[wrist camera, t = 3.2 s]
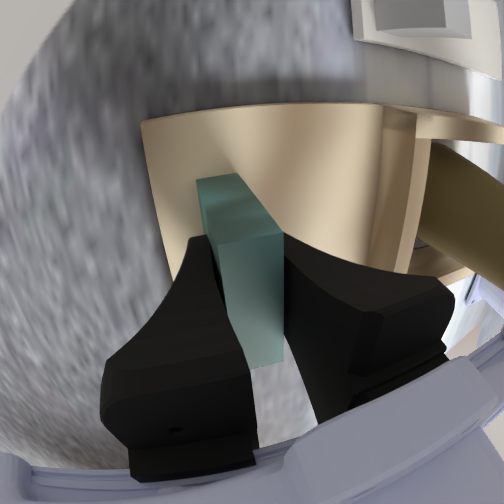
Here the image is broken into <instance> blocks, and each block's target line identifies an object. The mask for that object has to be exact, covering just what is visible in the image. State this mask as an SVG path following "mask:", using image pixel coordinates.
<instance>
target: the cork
mask: <svg viewBox="0 0 504 504" xmlns="http://www.w3.org/2000/svg"><path fill="white" fill-rule="evenodd" d="M416 238H417V239H419V240H421V241H423V242H425V243H426V244H428V245H430V246H432V247H433V248H435V249H437V250H439V251H440V252H442V253H444V254H445V255H447V256H449V257H450V258H452V259H454V260H456V261H457V262H459V263H460V264H462V265H464V266H465V267H467V268H469V269H470V270H472V271H473V272H475V273H477V274H478V275H480V276H481V277H483V278H484V279H486V280H488V281H489V282H491V283H492V284H494V285H495V286H497V287H498V288H500V289H501V290H503V291H504V185H503V184H502V183H500V182H499V181H498V180H496V179H495V178H494V177H492V176H491V175H489V174H488V173H487V172H485V171H484V170H482V169H481V168H479V167H478V166H477V165H475V164H474V163H472V162H471V161H469V160H467V159H466V158H464V157H463V156H461V155H460V154H458V153H456V152H455V151H453V150H452V149H450V148H448V147H447V146H445V145H442V144H439V143H431V148H430V157H429V165H428V172H427V179H426V186H425V192H424V198H423V204H422V209H421V214H420V220H419V224H418V229H417V234H416Z"/></svg>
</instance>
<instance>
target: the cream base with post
mask: <svg viewBox="0 0 504 504" xmlns="http://www.w3.org/2000/svg"><path fill="white" fill-rule="evenodd" d="M351 10H352V23H353V38H354V40H357V41H363V42H369V43H375V44H380V45H385V46H390V47H394V48H399V49H403V50H407V51H411V52H415V53H419V54H423V55H426V56H430V57H433V58H436V59H440V60H443V61H446V62H449V63H452V64H455V65H458V66H461V67H464V68H466V69H469V70H472V71H474V72H477V73H479V74H482V75H484V76H487V77H489V78H491V79H495V80H499V81H502V57H501V38H500V27H499V18H498V10H497V3H496V2H495V1H493V0H351Z"/></svg>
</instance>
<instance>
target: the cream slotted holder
mask: <svg viewBox="0 0 504 504" xmlns="http://www.w3.org/2000/svg"><path fill="white" fill-rule="evenodd" d="M140 127H141V133H142V139H143V145H144V151H145V157H146V162H147V168H148V173H149V178H150V184H151V189H152V193H153V198H154V203H155V208H156V212H157V217H158V221H159V226H160V230H161V234H162V239H163V243H164V247H165V251H166V255H167V259H168V263H169V267H170V271H171V275H172V278H173V282H174V280H175V278H176V275H177V273H178V271H179V269H180V266H181V264H182V261H183V258H184V255H185V252H186V248H187V243H188V240H189V238H190V237H194V236H199V235H204V234H207V236H208V239H209V241H210V246H211V252H212V258H213V264H214V270H215V276H216V282H217V287H218V290H219V293H220V296H221V299H222V302H223V304H224V307H225V310H226V312H227V315H228V317H229V320H230V322H231V325H232V327H233V329H234V331H235V334H236V336H237V338H238V340H239V342H240V344H241V346H242V348H243V351H244V354H245V357H246V360H247V363H248V366H249V369H250V370H251V369H255V368H259V367H263V366H266V365H270V364H274V363H278V362H281V361H283V340H284V232H285V233H287V234H289V235H290V236H292V237H294V238H296V239H298V240H300V241H302V242H304V243H306V244H308V245H310V246H312V247H314V248H316V249H319V250H321V251H323V252H325V253H328V254H330V255H333V256H336V257H339V258H341V259H344V260H347V261H350V262H353V263H357V264H360V265H364V266H368V267H372V268H376V269H380V270H385V271H391V272H397V273H403V274H412V275H423V276H434V277H436V278H437V279H438V280H440V281H441V282H442V283H443V284H444V285H445V286H448V285H450V284H452V283H455V282H457V281H459V280H461V279H464V278H466V277H468V276H470V275H472V274H475V272H473V271H472V270H470V269H469V268H467V267H465V266H464V265H462V264H460V263H459V262H457V261H456V260H454V259H452V258H450V257H449V256H447V255H445V254H444V253H442V252H440V251H439V250H437V249H435V248H433V247H432V246H427V247H423V248H420V249H416V250H413V247H414V243H415V238H416V234H417V229H418V224H419V220H420V214H421V209H422V204H423V198H424V192H425V186H426V179H427V172H428V165H429V157H430V148H431V139H448V140H463V141H475V142H485V143H494V144H503V145H504V127H503V126H501V125H498V124H495V123H492V122H490V121H487V120H484V119H481V118H478V117H474V116H470V115H465V114H460V113H454V112H448V111H441V110H434V109H427V108H419V107H410V106H400V105H389V104H375V103H355V102H292V103H271V104H257V105H245V106H234V107H225V108H216V109H209V110H201V111H194V112H188V113H181V114H176V115H170V116H164V117H159V118H154V119H149V120H144V121H141V123H140Z"/></svg>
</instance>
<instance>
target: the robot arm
mask: <svg viewBox="0 0 504 504" xmlns="http://www.w3.org/2000/svg"><path fill="white" fill-rule="evenodd" d="M481 299H484V300H486V301H487V302H488V303H489V304H490V305H491V306H492V307H493V308H494V309H495V310H496V311H497V312H498V313H499V314H500V315H501V316H502V317H503V318H504V291H503V290H501V289H500V288H498V287H497V286H495V285H494V284H492V283H491V282H489V281H488V280H486V279H484V278H483V277H481V276H480V275H478V274H477V276H476V278H475V281H474V283H473V286H472V288H471V291H470V293H469V295H468V298H467V300H466V302H465V305H466V306H467V307H469V306H471V305H473V304H474V303H476V302H478V301H480V300H481ZM454 307H455V297H454V294H453V293H452V292H451V291H450V290H449V289H448V288H447V287H446V286H445V285H444V284H443V283H442V282H441V281H440V280H438V279H437V278H436V277H434V276H423V275H412V274H403V273H397V272H391V271H385V270H380V269H376V268H372V267H368V266H364V265H360V264H357V263H353V262H350V261H347V260H344V259H341V258H339V257H336V256H333V255H330V254H328V253H325V252H323V251H321V250H319V249H316V248H314V247H312V246H310V245H308V244H306V243H304V242H302V241H300V240H298V239H296V238H294V237H292V236H290V235H289V234H287V233H285V232H284V336H285V338H286V340H287V342H288V344H289V346H290V349H291V351H292V354H293V356H294V359H295V361H296V364H297V366H298V369H299V371H300V374H301V377H302V379H303V382H304V385H305V387H306V390H307V393H308V396H309V399H310V402H311V404H312V407H313V410H314V413H315V416H316V419H317V422H318V425H317V426H316V427H314V428H313V429H311V430H310V431H308V432H307V433H305V434H304V435H302V436H300V437H297V438H294V439H291V440H287V441H284V442H281V443H277V444H274V445H270V446H267V447H263V448H259V441H258V434H257V420H256V413H255V405H254V397H253V389H252V381H251V373H250V369H249V366H248V363H247V360H246V357H245V354H244V351H243V348H242V346H241V344H240V342H239V340H238V338H237V336H236V334H235V331H234V329H233V327H232V325H231V322H230V320H229V317H228V315H227V312H226V310H225V307H224V304H223V302H222V299H221V296H220V293H219V290H218V287H217V282H216V276H215V270H214V264H213V258H212V252H211V246H210V241H209V239H208V236H207V234H204V235H199V236H194V237H190V238H189V240H188V243H187V248H186V252H185V255H184V258H183V261H182V264H181V266H180V269H179V271H178V273H177V275H176V278H175V280H174V282H173V284H172V286H171V288H170V290H169V291H168V293H167V295H166V296H165V298H164V300H163V301H162V303H161V304H160V306H159V307H158V308H157V310H156V311H155V313H154V314H153V315H152V317H151V318H150V319H149V321H148V322H147V323H146V324H145V325H144V326H143V327H142V328H141V330H140V331H139V332H138V333H137V334H136V335H135V336H134V337H133V338H132V339H131V340H130V341H129V342H127V343H126V344H125V345H124V346H123V347H122V348H121V349H119V350H118V351H117V352H116V353H115V354H114V355H112V356H111V357H110V358H109V359H108V360H106V364H105V368H104V373H103V377H102V383H101V393H100V418H101V421H102V423H103V424H104V426H105V427H106V428H107V429H108V430H109V431H110V432H111V433H112V434H113V435H114V436H115V437H116V438H117V439H118V440H119V441H120V442H121V443H122V444H123V445H125V446H126V447H127V448H128V455H129V467H130V469H112V470H84V469H61V468H49V467H39V466H31V465H30V464H29V463H28V462H27V461H25V460H24V459H22V458H20V457H19V456H16V455H14V454H11V453H6V452H0V504H504V461H503V460H502V458H501V457H500V455H499V453H498V452H497V450H496V449H495V447H494V446H493V444H492V443H491V441H490V440H489V438H488V437H487V435H486V434H485V432H484V431H483V429H484V428H485V427H486V426H487V425H488V424H489V423H491V422H492V421H493V420H494V419H495V418H496V417H497V416H498V415H499V414H500V413H501V412H502V411H503V410H504V325H503V327H502V329H501V332H500V333H499V334H497V335H496V336H495V337H494V338H492V339H491V340H489V341H488V342H487V343H485V344H484V345H482V346H481V347H479V348H478V349H477V350H475V351H474V352H472V353H471V354H469V355H468V356H459V357H457V358H454V359H452V360H449V359H448V358H447V357H446V355H445V354H444V352H445V351H446V349H447V348H446V345H445V344H444V343H443V342H442V340H441V338H442V336H443V334H444V332H445V330H446V328H447V326H448V324H449V322H450V320H451V317H452V315H453V312H454Z"/></svg>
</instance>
